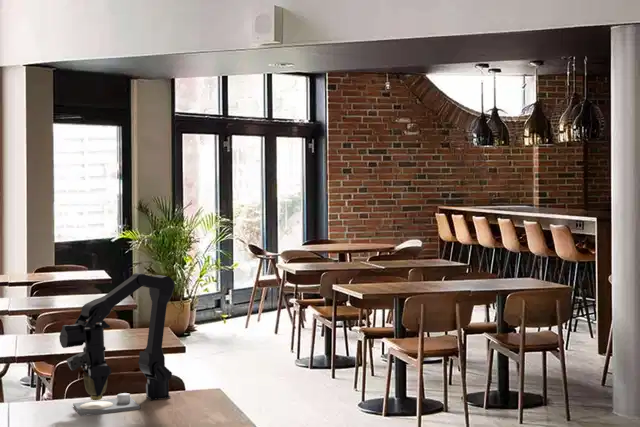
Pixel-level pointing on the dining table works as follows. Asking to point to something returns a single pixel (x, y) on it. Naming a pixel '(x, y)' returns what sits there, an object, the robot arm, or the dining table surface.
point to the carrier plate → (107, 405)
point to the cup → (92, 388)
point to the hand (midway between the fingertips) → (96, 393)
